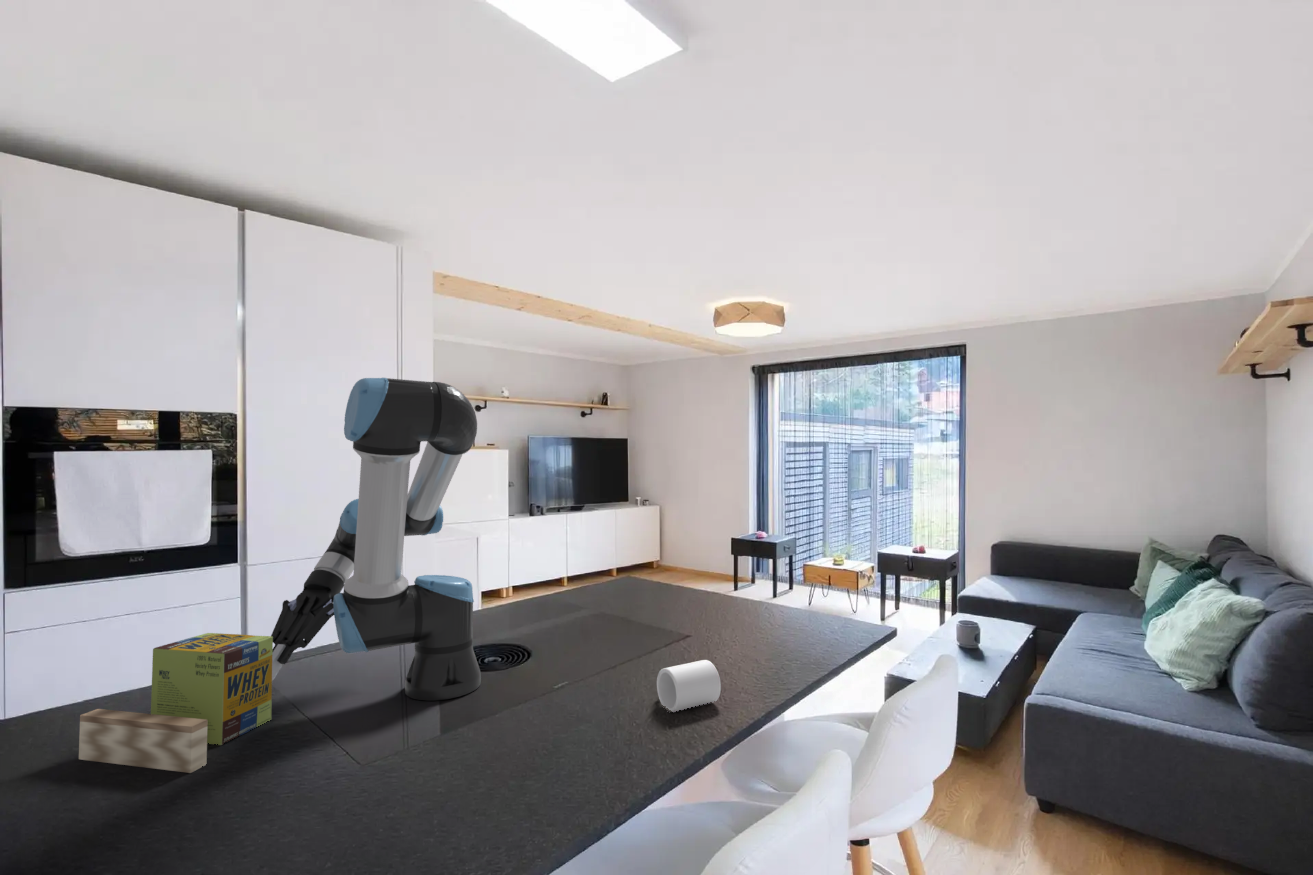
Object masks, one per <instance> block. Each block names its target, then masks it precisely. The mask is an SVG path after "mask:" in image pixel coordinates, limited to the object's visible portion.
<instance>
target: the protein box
mask: <svg viewBox="0 0 1313 875" xmlns="http://www.w3.org/2000/svg"><path fill="white" fill-rule="evenodd" d="M273 644H274V643H273V637H272V636H271V635H270V636H269V635H254V634H253V635H252V634H251V635H250V634H238V633H237V634H233V633H221V632H220V633H218V632H216V633H215V632H214V633H213V632H207V633H203V634H199V635H196V636H192V637H189V638H185V639H182V640H178V641H174V642H170V643H167V644H164V645H160V646H156V647H154V648H152V665H151V666H152V669H151V670H152V671H151V693H150V694H151V697H150V698H151V699H150V714H156V715H166V716H176V717H186V718H196V719H206V720H208V724H207V745H214V744H216V745H215V746H223V745H225V744H226V743H225V742H227V743H229V742H231V741H232V739H233V740H235V739H237V738H239V737H241V736H243V735H245V734H246V733H248V732H250V730H251V731H252V729H253V730H255V729H257V728H258V726H259V727H260V725H261V726H263V725H265V724H267V723H268V722H267V721H269V722H270V720H272V700H273V699H272V698H273V697H272V692H273V691H272V690H273V681H272V653H273V648H274V645H273ZM266 722H267V723H266ZM264 723H265V724H264ZM262 724H263V725H262ZM256 727H257V728H256ZM254 728H255V729H254ZM238 736H239V737H238ZM234 738H235V739H234ZM230 740H231V741H230ZM228 741H229V742H228ZM208 743H209V744H208ZM224 743H225V744H224ZM217 744H218V745H217Z"/></svg>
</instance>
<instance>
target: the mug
mask: <svg viewBox="0 0 1313 875" xmlns="http://www.w3.org/2000/svg"><path fill="white" fill-rule="evenodd" d="M719 674H720V673H719V672H718V670H717V668H716V667H715V665H714V663H712V662H711V661H710V660H708V659H701V660H697V661H692V662H688V663H681V664H678V665H673V666H669V667H668V666H667V667H664V668H661V669H659V672H658V673H657V678H656V690H657V691H656V692H657V695H658V699H659V702H660V704H661V705H663V706H666V708H668V709H669V710H671V711H672V712H673V713H676V711H677V712H679V710H681V711H684V709H685V710H687V708H689V709H691V707H693V708H696V707H700V706H704V705H708V704H711V703H710V702H712V703H715V702H716V701H717V700H719V697H720V695H721V689H722V685H721V678H720V675H719ZM714 701H715V702H714ZM707 703H708V704H707ZM703 704H704V705H703ZM699 705H700V706H699ZM663 706H662V707H663ZM695 706H696V707H695Z"/></svg>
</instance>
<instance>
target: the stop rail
mask: <svg viewBox="0 0 1313 875" xmlns="http://www.w3.org/2000/svg"><path fill="white" fill-rule="evenodd" d="M207 724H208V720H206V719H196V718H186V717H176V716H166V715H156V714H151V713H144V712H134V711H124V710H116V709H115V710H113V709H105V708H104V709H103V708H96V709H93V710H90V711H88V712H86V713H82V714H80V716H79V739H78V740H79V741H78V760H83V761H90V762H97V763H98V762H99V763H106V764H107V763H108V764H113V765H114V764H116V765H121V766H122V765H123V766H124V765H125V766H130V767H131V766H132V767H137V768H138V767H139V768H147V769H154V770H155V769H156V770H162V771H164V770H165V771H171V772H179V773H180V772H181V773H188V774H191V773H194V772H195V771H197V770H199V769H201V768H203V767H205V766H207V765H208V764H207V761H208V760H207V758H208V744H207ZM206 764H207V765H206ZM202 766H203V767H202Z"/></svg>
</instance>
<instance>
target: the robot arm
mask: <svg viewBox="0 0 1313 875" xmlns="http://www.w3.org/2000/svg"><path fill="white" fill-rule="evenodd" d="M344 413H345V414H344V425H343V433H344V436H345V438H346V440H348V441H350V442H352V450H354V452H355V453H356V454H357V455H358V456H359V457H360V469H359V470H360V471H359V473H360V474H359V485H358V486H359V488H358V498H356V499H353V500H351V501H349V502H348V503H347V504H346V506H345V507H344V509H343V511H342V513H341V515H340V517H339V523H338V527H337V528H336V532H335V535H334V536H333V539H332V540H331V543H330V544H329V546H328V547H327V549H326V550H325V551H324V553H323V555H322V556H321V557H320V559H319V560H318V562H317V563H316V564H315V566H314V568H313V570H312V571H311V572H310V574H309V576H308V577H307V578H306V580H305V582H304V584H303V589H302V591H301V592H300V593H299V594H298V595H297V596H296V598H295V599H292V600H288V599H285V600H284V601H282V605H281V606H282V608H281V609H282V610H281V612H280V614H279V615H278V618H277V621H276V623H275V626H274V627H273V631H272V633H271V635H270V636H272V637H273V644H274V645H273V653H272V682H274V680H275V678H276V677H277V675H278V674H279V672H280V670H281V669H282V667H283V665H286V664H287V663H288V661H289V659H291V656H292V655H293V653H294V652H295V651H297V650H298V649H300V648H301V649H305V648H306V647H307V646H309V644H310V643H311V642H312V640H313V639H314V638H315V637H316V635H317V634H318V633H319V632H320V631H321V629H322V628H323V627H324V626H326V624H327V623H328V621H329V620H330V619H331V618H332V617H334V624H335V629H336V634H337V635H336V636H337V639H338V643H339V646H340V648H341V650H342V651H343V652H344V653H347V654H356V653H364V652H365V653H369V652H370V651H375V650H377V651H378V650H381V649H387V648H388V649H389V648H393V647H398V646H399V647H400V646H405V645H410V644H414V654H413V656H412V660H411V662H410V663H411V664H410V666H409V668H408V672H407V675H406V678H405V681H404V694H405V695H406V696H407V697H409V698H411V699H414V700H419V701H443V700H449V699H454V698H459V697H462V696H465V695H468V694H470V693H472V692H474V691H476V690H477V689H479V687H480V686H481V684H482V682H481V681H482V679H481V678H482V677H481V676H482V673H481V669H480V666H479V663H478V661H477V657H476V654H475V651H474V647H473V646H474V645H473V636H474V634H473V632H474V631H473V626H474V624H473V622H474V620H473V619H474V618H473V616H474V614H473V613H474V602H475V601H474V593H473V585H472V583H471V581H470V580H469V579H467V578H463V577H460V576H453V575H445V574H424V575H418V576H416V578H415V580H414V583H413V584H411V585H409V580H408V578H407V577H405V575H403V574H402V568H403V567H402V566H403V558H404V555H403V554H404V544H405V543H404V542H405V537H409V536H410V537H411V536H427V535H432V534H433V535H434V534H438V533H439V532H440V531H441V530H442V528H443V523H444V511H443V507H442V506H441V503H442V501H443V499H444V497H445V495H446V493H447V490H448V488H449V485H450V483H451V482H452V479H453V477H454V474H455V472H456V470H457V467H458V466H459V463H460V461H461V459H462V457H463V455H465V454H466V453H468V452H469V451H470V450H471V448H472V446H473V445H474V442H475V439H476V437H477V432H478V420H477V415H476V411H475V408H474V407H473V405H472V403H471V401H470V400H469V399H468V397H466V395H465V394H464V393H463V392H462V391H460V390H459V389H457V388H456V387H455V386H453V385H451V384H448V383H445V382H441V381H422V380H412V379H411V380H409V379H400V378H391V377H390V378H387V377H363V378H361V379H358V380H357V381H356V382H355V383H354V384H353V386H352V389H351V390H350V393H349V396H348V400H347V404H346V408H345V412H344ZM422 442H427V443H426V444H425V447H424V450H423V453H422V455H421V458H420V460H419V463H418V467H417V469H416V472H415V474H414V477H413V480H412V482H411V485H410V486H409V482H410V480H409V478H410V468H411V461H412V459H413V458H414V457H416V456H417V455H418V454H420V450H421V443H422ZM352 573H353V575H352ZM342 590H343V592H342Z"/></svg>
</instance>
